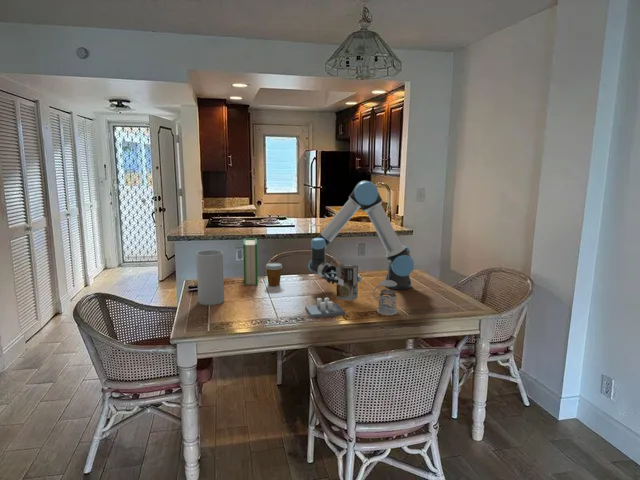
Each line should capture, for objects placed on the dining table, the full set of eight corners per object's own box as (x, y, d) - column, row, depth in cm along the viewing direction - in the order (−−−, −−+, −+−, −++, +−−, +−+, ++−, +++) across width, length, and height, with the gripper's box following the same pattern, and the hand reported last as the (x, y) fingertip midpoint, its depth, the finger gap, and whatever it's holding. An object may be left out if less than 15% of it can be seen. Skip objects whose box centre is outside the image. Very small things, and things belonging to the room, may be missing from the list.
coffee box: (358, 297, 207) (358, 265, 204) (353, 301, 201) (353, 268, 198) (340, 295, 211) (341, 263, 208) (335, 298, 205) (335, 266, 202)
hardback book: (257, 285, 238) (256, 243, 234) (244, 286, 237) (243, 244, 233) (257, 277, 255) (256, 238, 251) (244, 277, 254) (243, 238, 250)
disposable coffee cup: (285, 284, 241) (285, 263, 239) (275, 288, 233) (275, 267, 231) (272, 281, 246) (272, 261, 244) (262, 285, 238) (261, 264, 236)
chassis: (337, 306, 205) (337, 295, 204) (345, 314, 194) (345, 303, 193) (305, 308, 201) (305, 297, 200) (311, 317, 190) (311, 306, 189)
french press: (397, 316, 193) (400, 262, 189) (372, 313, 196) (374, 261, 191) (398, 308, 203) (400, 258, 198) (373, 307, 205) (375, 256, 201)
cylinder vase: (228, 299, 214) (227, 251, 210) (216, 307, 202) (214, 256, 198) (206, 296, 217) (204, 249, 213) (193, 304, 206) (191, 254, 201)
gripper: (345, 275, 226) (371, 285, 207) (308, 281, 215) (332, 292, 196) (345, 261, 224) (371, 270, 206) (308, 267, 213) (332, 276, 194)
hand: (352, 281), depth 201 cm, fingers closed on coffee box, 10 cm apart
